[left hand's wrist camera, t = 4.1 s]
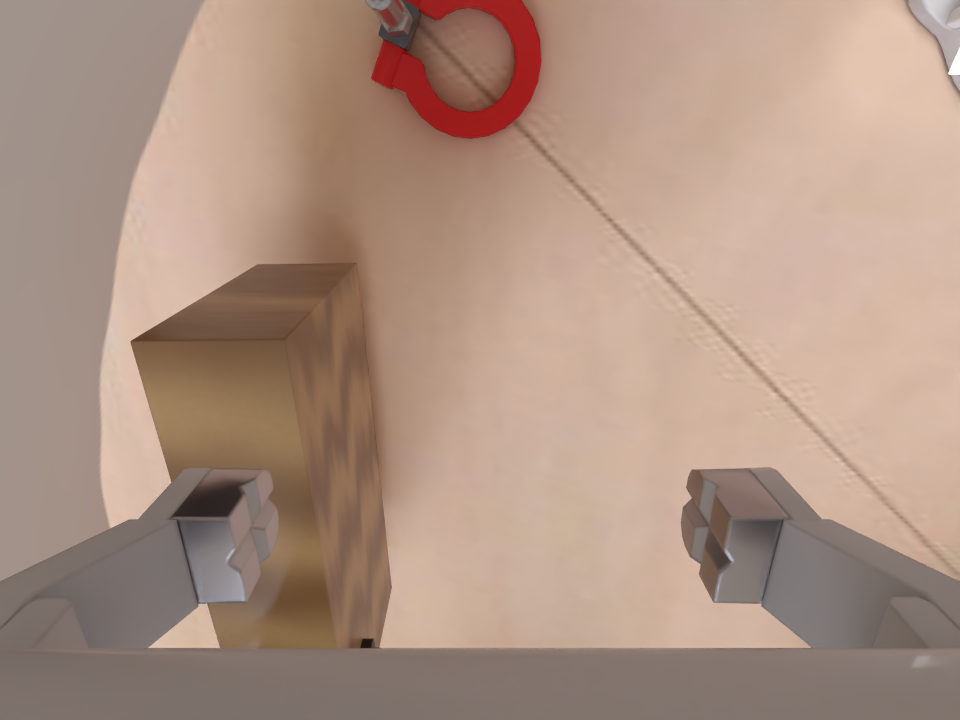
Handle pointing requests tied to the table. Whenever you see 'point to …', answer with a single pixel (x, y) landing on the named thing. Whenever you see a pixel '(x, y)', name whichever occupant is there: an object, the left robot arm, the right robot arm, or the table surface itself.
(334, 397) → the box
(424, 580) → the table surface
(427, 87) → the tow hook
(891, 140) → the table surface
